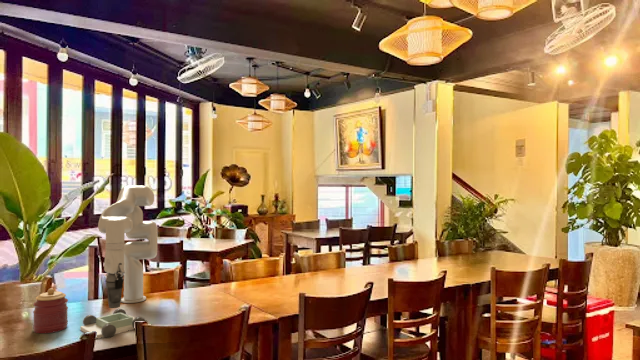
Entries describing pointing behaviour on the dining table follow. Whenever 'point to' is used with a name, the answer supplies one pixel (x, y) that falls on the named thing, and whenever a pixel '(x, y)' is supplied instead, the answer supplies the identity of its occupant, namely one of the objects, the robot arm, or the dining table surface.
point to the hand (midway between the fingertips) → (114, 286)
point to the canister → (50, 312)
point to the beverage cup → (113, 292)
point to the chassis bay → (109, 323)
